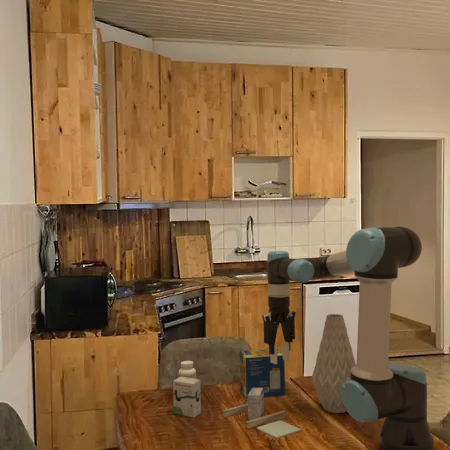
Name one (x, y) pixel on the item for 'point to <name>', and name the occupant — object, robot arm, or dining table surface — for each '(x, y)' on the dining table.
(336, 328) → the vase
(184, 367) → the supplement bottle
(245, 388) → the protein box
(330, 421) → the dining table surface
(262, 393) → the medicine box
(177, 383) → the ink box
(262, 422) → the slot rack
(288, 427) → the sage mat
